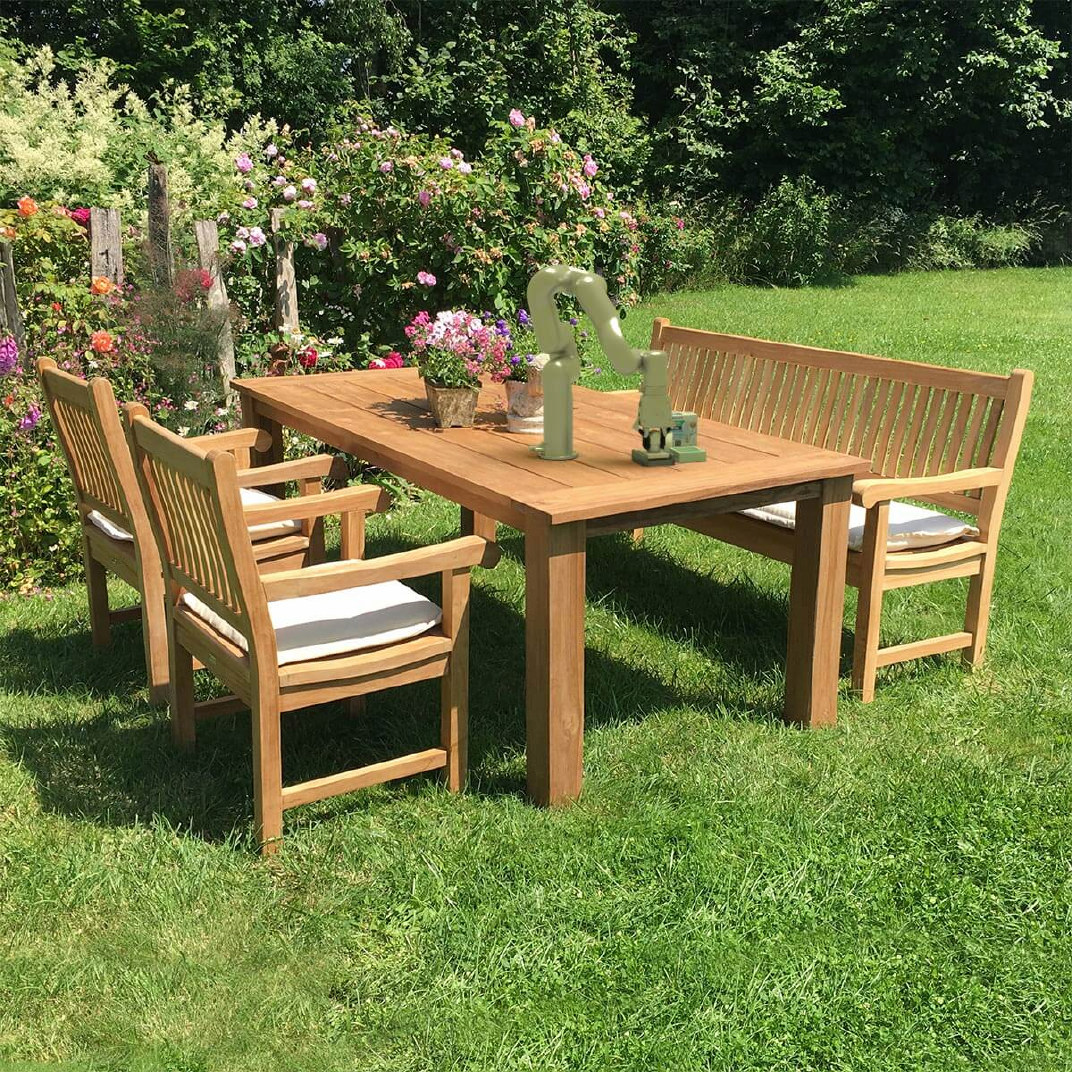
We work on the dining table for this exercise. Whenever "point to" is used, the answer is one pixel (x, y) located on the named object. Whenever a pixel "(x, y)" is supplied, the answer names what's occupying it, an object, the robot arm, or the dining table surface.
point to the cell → (654, 441)
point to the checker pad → (654, 454)
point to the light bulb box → (684, 429)
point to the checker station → (652, 462)
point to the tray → (688, 454)
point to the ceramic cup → (668, 441)
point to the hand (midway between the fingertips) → (653, 448)
